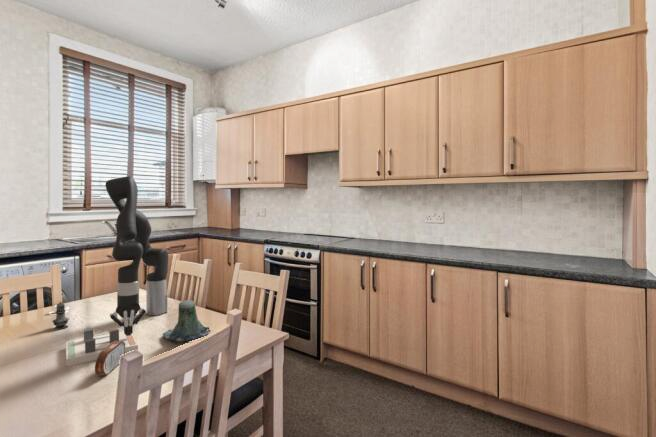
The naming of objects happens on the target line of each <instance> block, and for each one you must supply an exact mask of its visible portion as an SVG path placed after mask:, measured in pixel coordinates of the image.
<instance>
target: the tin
mask: <svg viewBox="0 0 656 437" xmlns="http://www.w3.org/2000/svg"><path fill="white" fill-rule="evenodd" d="M122 354H124V355H126V354H125V343H124V342H123V341H114V342H113V343H111V344H110V345H109V346H107V347H106V348H104V349H103V350H102V351H101V352H100V354H99V355H98V357H97V360H95V363H94V364H95V365H94V373H95V376H107V375H109V374H110V373H112V371H114V370H115V369H116V368H117V367H118V366H119V365H120V364H119V360H120V356H121V355H122Z"/></svg>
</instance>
